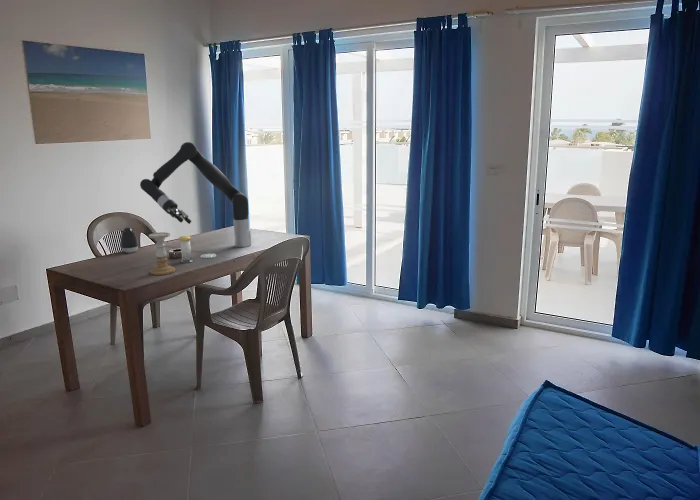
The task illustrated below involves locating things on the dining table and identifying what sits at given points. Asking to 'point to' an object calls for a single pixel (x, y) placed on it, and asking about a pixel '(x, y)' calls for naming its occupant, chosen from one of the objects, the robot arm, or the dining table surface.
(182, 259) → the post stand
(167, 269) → the candle holder
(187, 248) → the glass jar
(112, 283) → the dining table surface
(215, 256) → the coaster
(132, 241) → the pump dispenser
